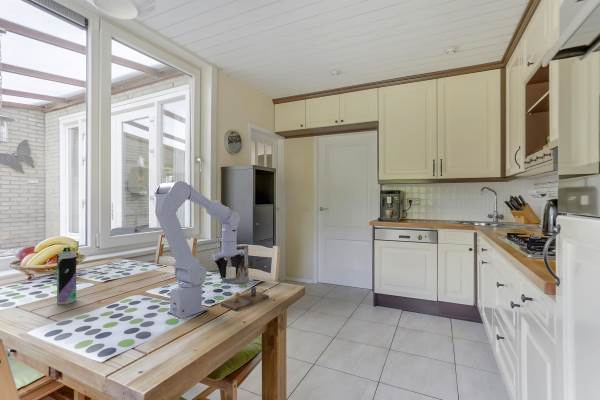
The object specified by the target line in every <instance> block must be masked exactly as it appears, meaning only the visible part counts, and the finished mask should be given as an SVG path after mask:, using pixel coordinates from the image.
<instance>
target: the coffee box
mask: <svg viewBox="0 0 600 400" xmlns="http://www.w3.org/2000/svg"><path fill="white" fill-rule="evenodd" d="M241 249H242V250H245V255H241V256H243V259H242V261H241V263H240V265H239V268H238V272H237V275H236V280H235V281H232V282H225V284H246V283H247V282H248V281H249V245H237V250H241ZM225 260H228V263H227V267H232V263H231V258H230V257H228V258H225Z"/></svg>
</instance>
